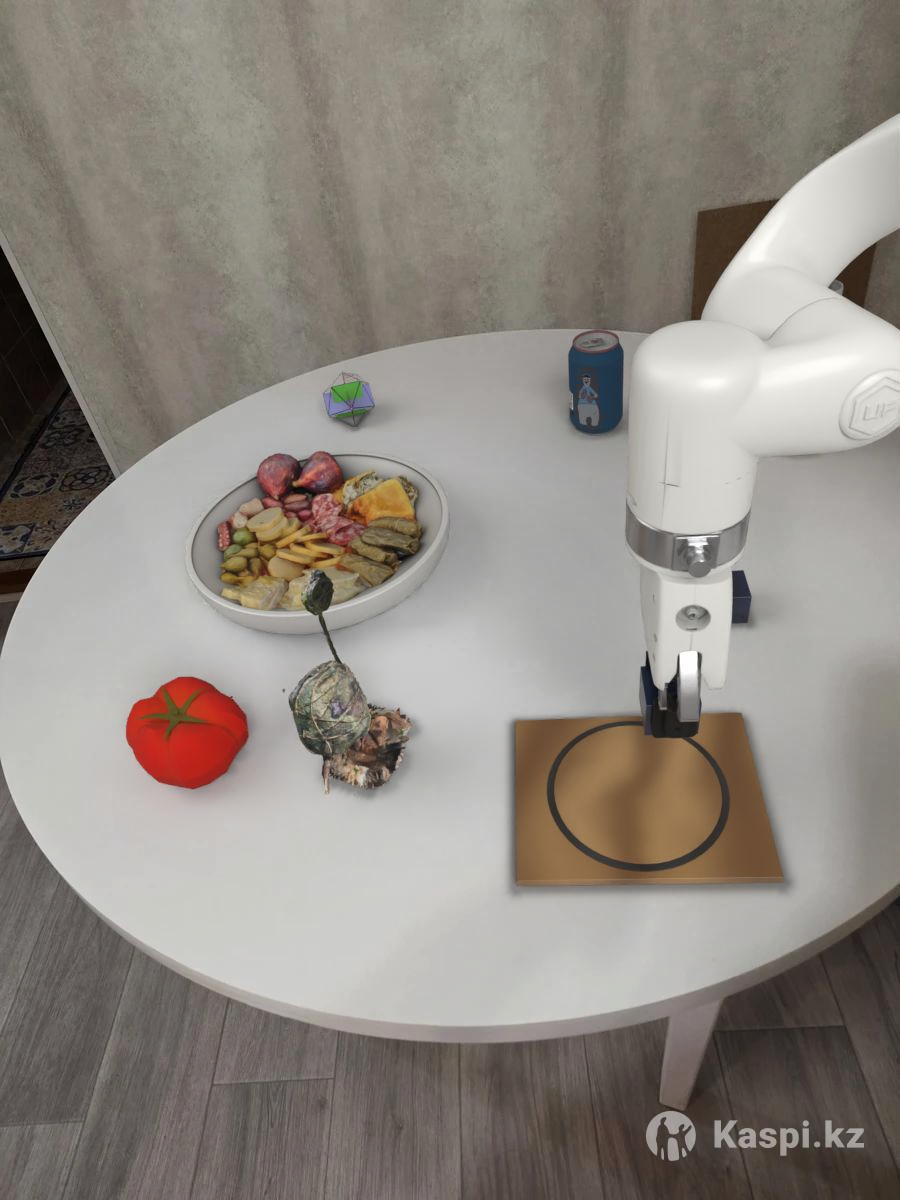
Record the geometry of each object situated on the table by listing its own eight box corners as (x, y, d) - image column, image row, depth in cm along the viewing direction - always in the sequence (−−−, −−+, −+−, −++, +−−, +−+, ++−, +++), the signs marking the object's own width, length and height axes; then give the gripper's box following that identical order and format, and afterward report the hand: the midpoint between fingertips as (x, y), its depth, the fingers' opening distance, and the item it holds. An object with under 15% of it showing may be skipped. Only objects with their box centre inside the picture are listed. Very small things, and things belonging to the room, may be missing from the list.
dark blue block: (739, 595, 88) (743, 569, 86) (747, 622, 86) (752, 596, 83) (699, 597, 89) (702, 571, 87) (706, 624, 86) (709, 598, 84)
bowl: (503, 571, 95) (498, 514, 90) (252, 693, 86) (229, 638, 81) (381, 456, 116) (370, 404, 110) (167, 545, 106) (144, 493, 101)
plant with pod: (287, 779, 78) (222, 620, 64) (371, 698, 84) (328, 537, 70) (352, 823, 74) (297, 662, 60) (435, 735, 80) (402, 571, 66)
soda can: (614, 407, 118) (615, 323, 110) (628, 432, 113) (631, 347, 105) (564, 415, 118) (562, 332, 110) (576, 442, 113) (575, 357, 105)
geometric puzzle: (380, 419, 119) (366, 361, 118) (331, 429, 118) (317, 371, 117) (378, 426, 126) (365, 371, 125) (332, 436, 125) (318, 381, 125)
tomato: (202, 696, 87) (181, 650, 82) (273, 745, 81) (255, 699, 77) (121, 761, 82) (94, 716, 77) (191, 819, 76) (166, 774, 71)
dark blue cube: (690, 694, 68) (693, 663, 66) (698, 734, 66) (702, 703, 63) (638, 696, 69) (640, 666, 67) (644, 735, 66) (646, 705, 64)
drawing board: (740, 718, 77) (741, 710, 76) (782, 882, 65) (784, 875, 65) (516, 725, 79) (515, 718, 79) (517, 886, 68) (516, 879, 67)
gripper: (777, 609, 48) (740, 800, 60) (722, 446, 60) (701, 632, 73) (640, 616, 49) (631, 803, 61) (614, 453, 61) (610, 636, 73)
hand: (669, 708), depth 67 cm, fingers closed on dark blue cube, 4 cm apart
